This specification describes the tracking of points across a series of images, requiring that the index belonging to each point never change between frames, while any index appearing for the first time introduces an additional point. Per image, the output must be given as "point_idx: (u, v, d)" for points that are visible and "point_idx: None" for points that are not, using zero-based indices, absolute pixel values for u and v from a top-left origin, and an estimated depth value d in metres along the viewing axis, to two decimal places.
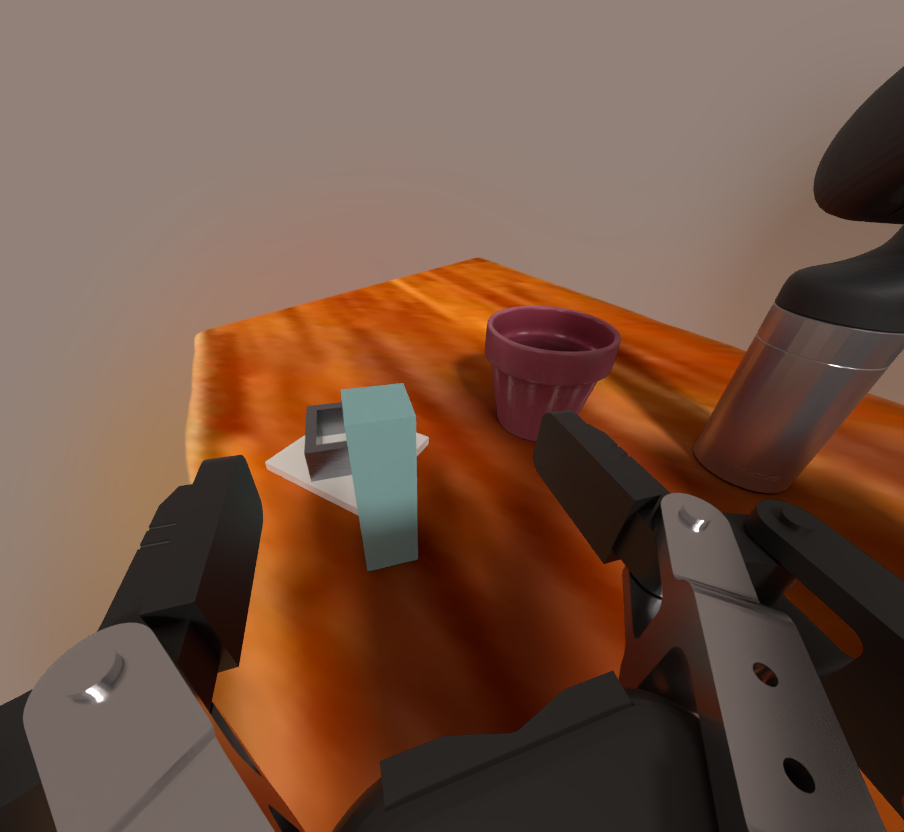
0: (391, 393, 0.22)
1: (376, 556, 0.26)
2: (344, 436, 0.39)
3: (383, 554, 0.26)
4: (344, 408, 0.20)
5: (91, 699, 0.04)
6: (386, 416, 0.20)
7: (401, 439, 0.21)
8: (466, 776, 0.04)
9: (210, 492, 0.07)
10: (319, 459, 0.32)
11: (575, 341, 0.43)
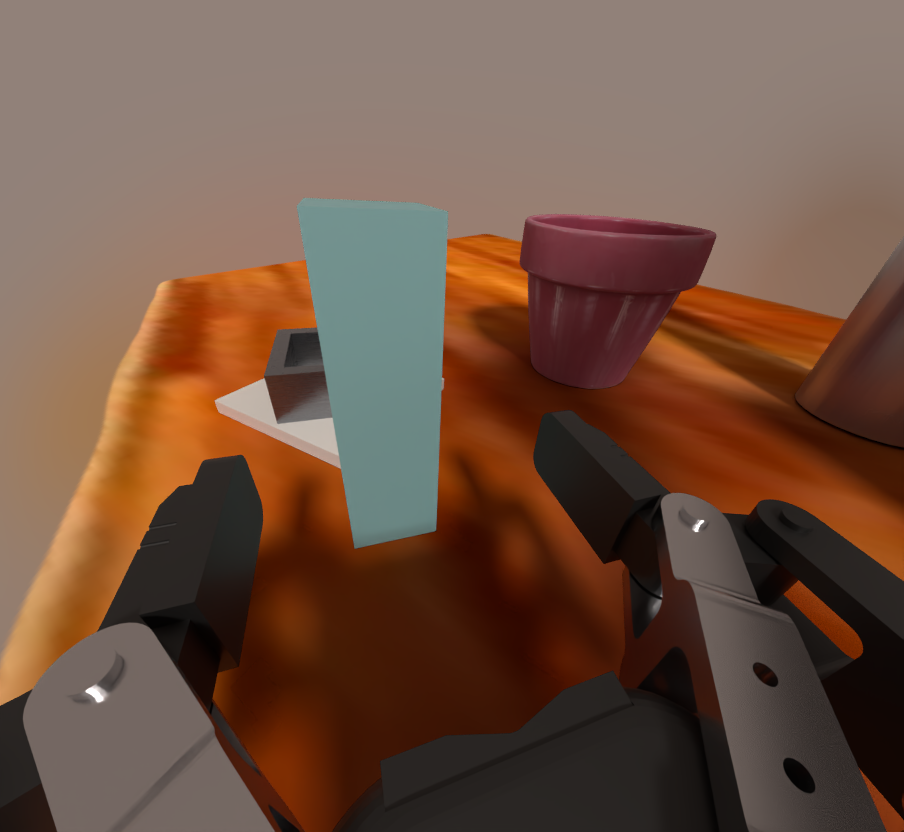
0: (397, 203, 0.12)
1: (368, 521, 0.16)
2: None
3: (380, 518, 0.16)
4: (304, 201, 0.10)
5: (91, 699, 0.04)
6: (388, 208, 0.10)
7: (418, 269, 0.11)
8: (466, 776, 0.04)
9: (210, 492, 0.07)
10: (288, 388, 0.22)
11: None
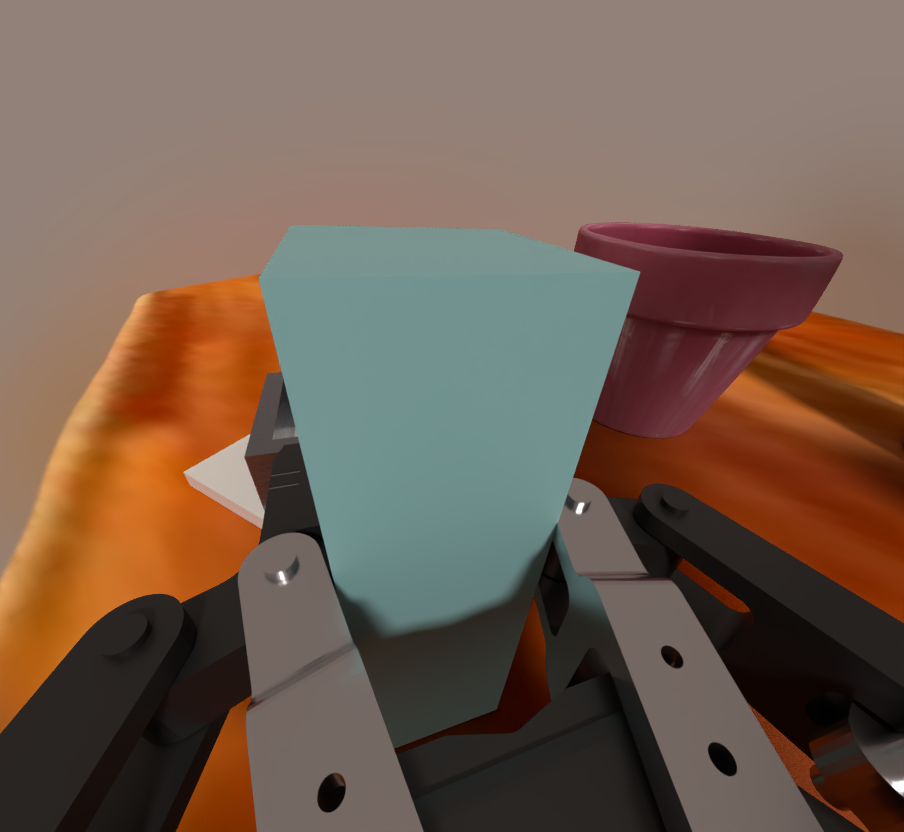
0: (475, 236, 0.06)
1: (401, 727, 0.10)
2: None
3: (418, 720, 0.10)
4: (287, 245, 0.04)
5: (286, 579, 0.05)
6: (497, 266, 0.04)
7: (547, 395, 0.05)
8: (466, 776, 0.04)
9: None
10: None
11: None
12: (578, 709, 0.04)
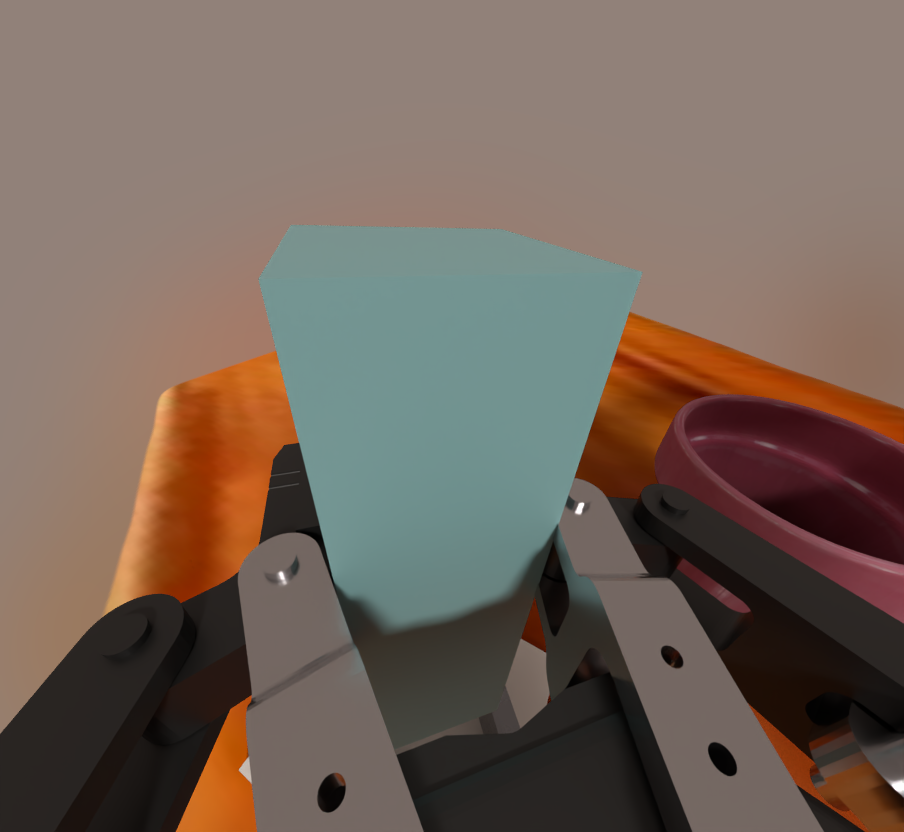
0: (475, 235, 0.06)
1: (401, 728, 0.10)
2: None
3: (418, 721, 0.10)
4: (287, 245, 0.04)
5: (286, 579, 0.05)
6: (498, 265, 0.04)
7: (548, 397, 0.05)
8: (466, 776, 0.04)
9: None
10: None
11: (802, 459, 0.24)
12: (578, 709, 0.04)
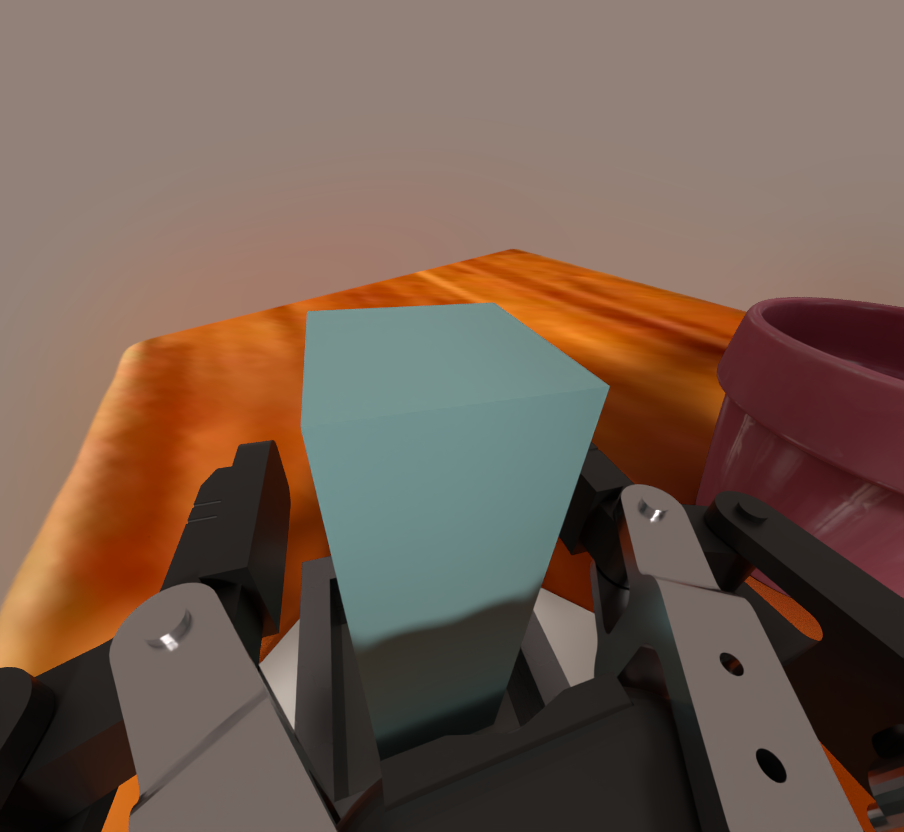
0: (471, 320, 0.07)
1: (405, 745, 0.11)
2: None
3: (421, 738, 0.11)
4: (312, 358, 0.05)
5: (168, 645, 0.04)
6: (490, 384, 0.05)
7: (533, 479, 0.05)
8: (466, 776, 0.04)
9: (249, 473, 0.07)
10: None
11: (896, 376, 0.20)
12: (578, 709, 0.04)
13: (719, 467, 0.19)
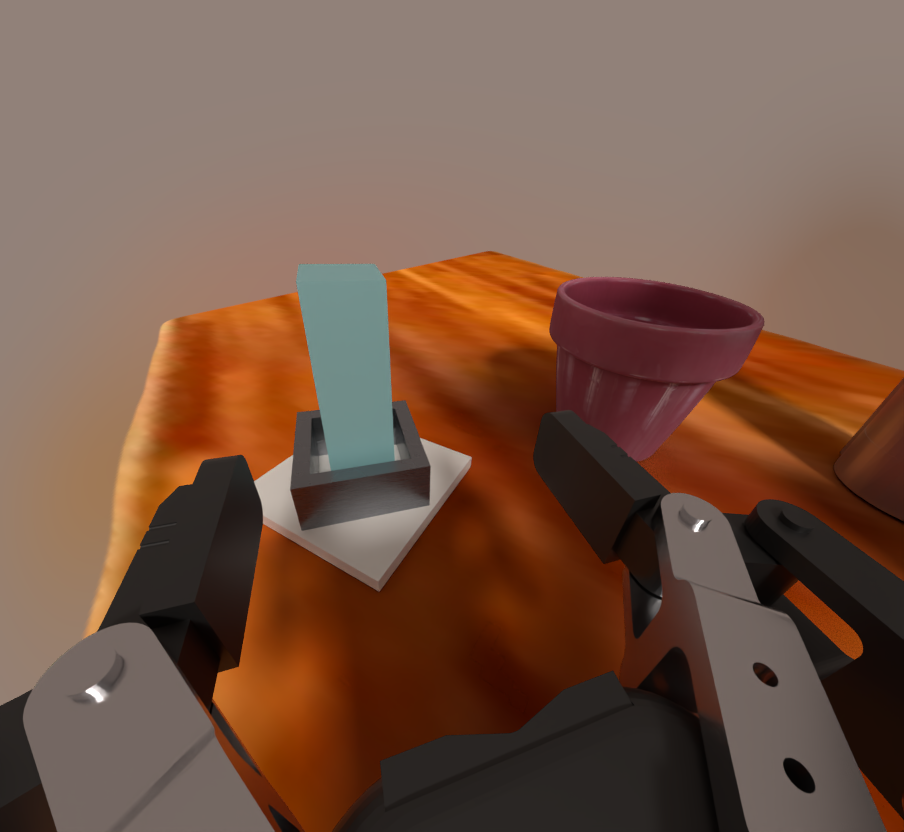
0: (359, 268, 0.19)
1: None
2: None
3: None
4: (299, 273, 0.17)
5: (91, 699, 0.04)
6: (350, 278, 0.17)
7: (369, 313, 0.17)
8: (466, 776, 0.04)
9: (210, 492, 0.07)
10: (314, 497, 0.20)
11: (666, 326, 0.32)
12: (578, 709, 0.04)
13: (556, 381, 0.31)
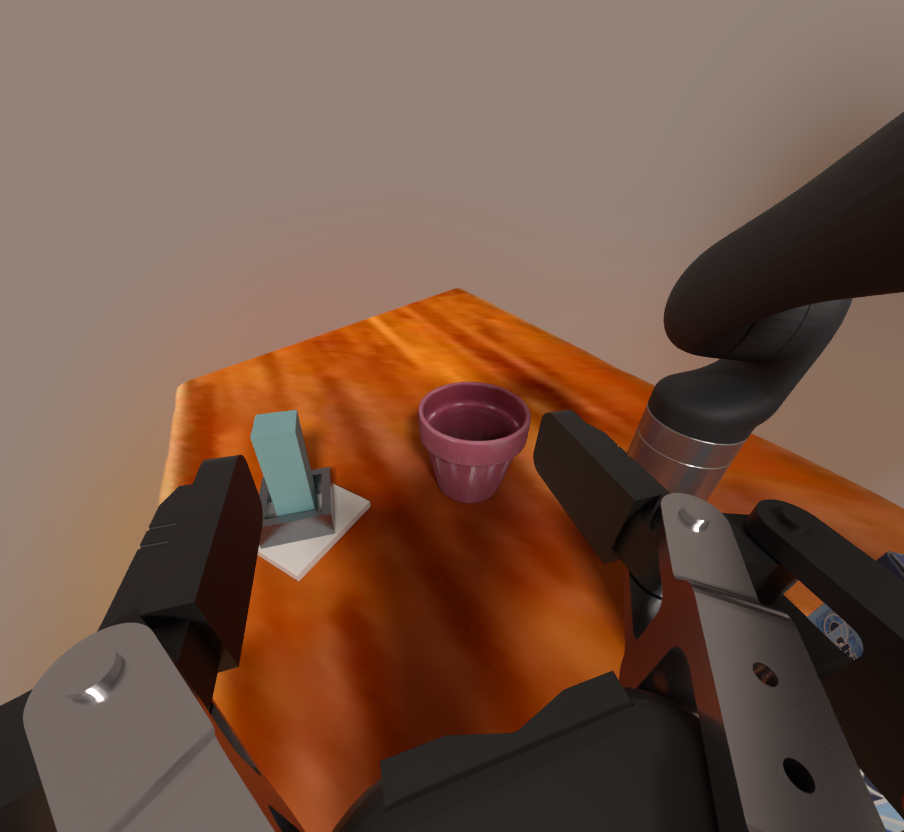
0: (286, 416, 0.37)
1: None
2: None
3: None
4: (254, 426, 0.35)
5: (91, 699, 0.04)
6: (277, 431, 0.35)
7: (288, 444, 0.35)
8: (466, 776, 0.04)
9: (210, 492, 0.07)
10: (266, 532, 0.38)
11: (503, 413, 0.49)
12: (578, 709, 0.04)
13: None
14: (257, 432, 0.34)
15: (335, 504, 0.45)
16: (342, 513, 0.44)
